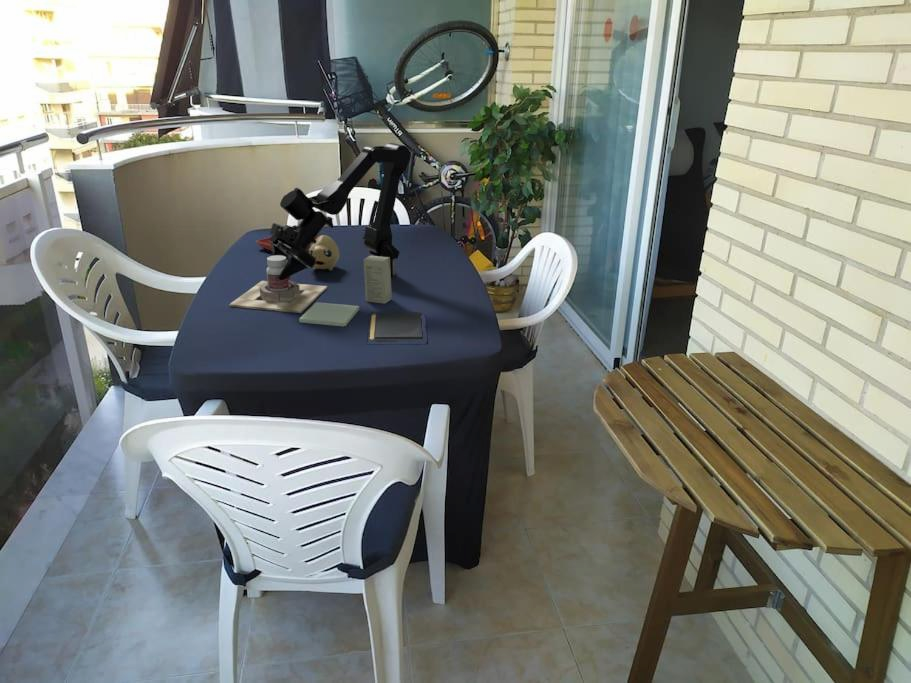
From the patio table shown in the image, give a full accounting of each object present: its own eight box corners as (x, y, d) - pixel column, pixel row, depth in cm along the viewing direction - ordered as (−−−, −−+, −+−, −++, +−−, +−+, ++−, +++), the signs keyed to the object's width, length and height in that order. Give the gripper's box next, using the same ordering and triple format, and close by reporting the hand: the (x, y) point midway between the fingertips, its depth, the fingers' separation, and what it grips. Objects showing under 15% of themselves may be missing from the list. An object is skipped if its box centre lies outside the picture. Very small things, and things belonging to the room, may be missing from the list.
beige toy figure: (302, 275, 197) (300, 241, 193) (312, 263, 208) (310, 231, 204) (334, 276, 197) (333, 242, 193) (342, 264, 208) (341, 232, 204)
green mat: (359, 309, 173) (359, 306, 172) (344, 326, 162) (344, 322, 161) (316, 305, 174) (316, 302, 174) (299, 322, 164) (299, 318, 163)
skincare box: (392, 299, 180) (391, 257, 175) (385, 304, 177) (384, 261, 172) (371, 296, 182) (370, 254, 177) (364, 301, 179) (362, 258, 174)
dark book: (428, 340, 153) (363, 339, 152) (428, 347, 153) (363, 347, 153) (427, 309, 171) (369, 308, 170) (427, 315, 172) (370, 315, 171)
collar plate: (327, 288, 187) (326, 278, 186) (300, 313, 169) (300, 302, 168) (262, 282, 190) (261, 272, 189) (229, 306, 172) (228, 295, 171)
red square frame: (296, 239, 235) (295, 230, 233) (331, 248, 225) (330, 239, 224) (255, 250, 221) (254, 240, 220) (291, 260, 212) (290, 250, 211)
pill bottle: (295, 298, 179) (291, 259, 174) (273, 302, 176) (269, 262, 171) (287, 291, 184) (283, 253, 179) (265, 295, 180) (262, 256, 176)
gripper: (272, 205, 179) (238, 250, 177) (302, 219, 166) (265, 267, 164) (301, 229, 187) (268, 272, 185) (331, 244, 173) (296, 291, 172)
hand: (273, 275), depth 176 cm, fingers open, 8 cm apart
